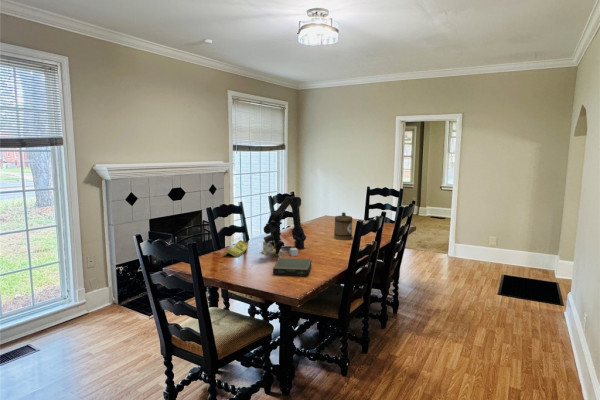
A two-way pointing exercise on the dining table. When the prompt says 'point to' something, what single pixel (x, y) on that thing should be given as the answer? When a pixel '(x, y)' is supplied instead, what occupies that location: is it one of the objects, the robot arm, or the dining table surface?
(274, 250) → the brass cylinder
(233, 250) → the curled yellow paper
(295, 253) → the grey block
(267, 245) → the mounted unit
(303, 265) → the network switch
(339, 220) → the wooden container
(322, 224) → the dining table surface
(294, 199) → the robot arm
